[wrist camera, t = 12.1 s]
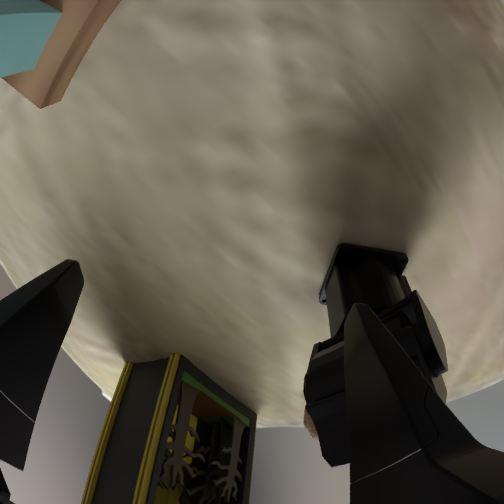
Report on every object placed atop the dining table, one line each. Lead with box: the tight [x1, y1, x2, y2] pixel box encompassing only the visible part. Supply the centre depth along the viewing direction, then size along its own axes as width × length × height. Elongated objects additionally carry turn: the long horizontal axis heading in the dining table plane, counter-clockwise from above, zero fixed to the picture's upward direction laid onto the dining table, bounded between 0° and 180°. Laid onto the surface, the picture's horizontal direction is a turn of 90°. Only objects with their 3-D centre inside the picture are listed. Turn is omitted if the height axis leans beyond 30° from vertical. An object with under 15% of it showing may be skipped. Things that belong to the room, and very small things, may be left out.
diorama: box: [81, 353, 257, 504], centre depth 29 cm, size 21×11×30 cm, turn 29°
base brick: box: [2, 0, 121, 109], centre depth 12 cm, size 9×9×2 cm
